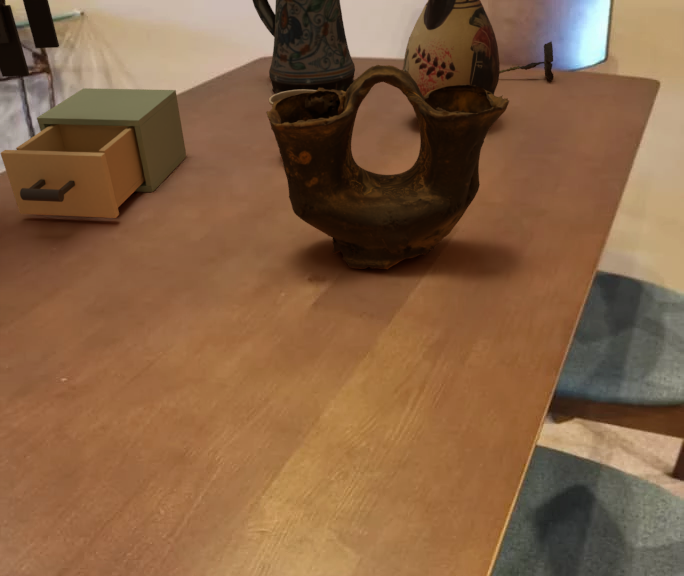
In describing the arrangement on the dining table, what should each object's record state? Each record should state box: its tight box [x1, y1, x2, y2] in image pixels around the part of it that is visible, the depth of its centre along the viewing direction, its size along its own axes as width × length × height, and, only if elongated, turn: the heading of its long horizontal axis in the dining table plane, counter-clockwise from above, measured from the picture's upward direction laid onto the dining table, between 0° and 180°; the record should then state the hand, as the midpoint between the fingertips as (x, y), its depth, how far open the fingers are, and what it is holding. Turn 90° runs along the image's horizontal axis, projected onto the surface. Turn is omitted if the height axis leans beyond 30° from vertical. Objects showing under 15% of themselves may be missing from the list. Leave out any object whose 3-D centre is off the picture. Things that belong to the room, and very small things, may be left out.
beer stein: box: [252, 0, 356, 94], centre depth 132 cm, size 16×19×25 cm
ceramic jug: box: [402, 0, 501, 102], centre depth 111 cm, size 17×15×30 cm
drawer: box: [0, 124, 145, 219], centre depth 95 cm, size 18×13×8 cm
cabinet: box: [36, 87, 187, 193], centre depth 105 cm, size 15×15×10 cm
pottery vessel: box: [266, 64, 510, 271], centre depth 79 cm, size 25×11×20 cm, turn 88°
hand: (32, 60), depth 84 cm, fingers open, 13 cm apart
